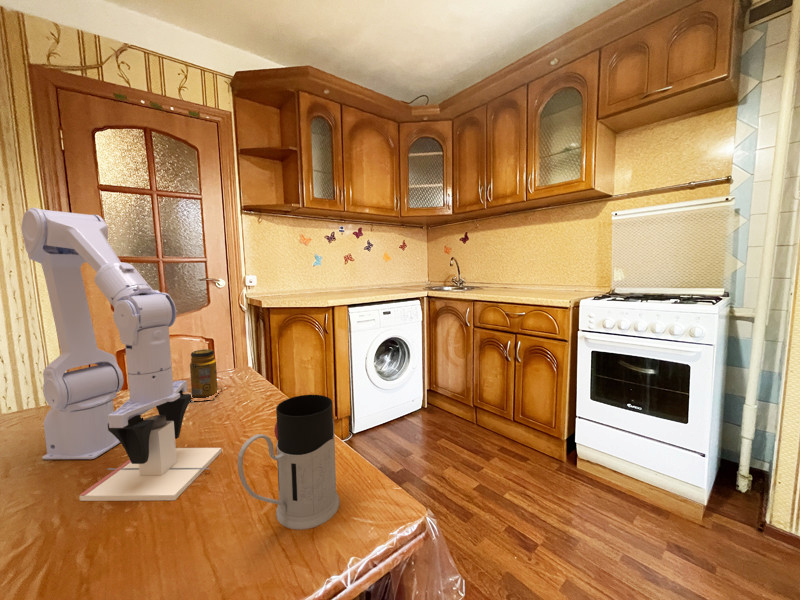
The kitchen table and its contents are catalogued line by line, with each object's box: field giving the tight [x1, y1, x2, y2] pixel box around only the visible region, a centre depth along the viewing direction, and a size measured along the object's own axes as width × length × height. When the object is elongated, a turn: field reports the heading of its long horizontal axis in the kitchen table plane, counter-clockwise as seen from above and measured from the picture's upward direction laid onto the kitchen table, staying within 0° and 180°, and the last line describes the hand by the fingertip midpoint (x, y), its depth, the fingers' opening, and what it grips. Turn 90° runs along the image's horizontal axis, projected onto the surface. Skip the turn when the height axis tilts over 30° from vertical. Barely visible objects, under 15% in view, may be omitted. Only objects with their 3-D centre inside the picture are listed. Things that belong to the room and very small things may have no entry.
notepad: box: [78, 447, 223, 502], centre depth 56 cm, size 17×13×1 cm
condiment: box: [189, 348, 219, 403], centre depth 89 cm, size 7×8×12 cm
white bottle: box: [139, 414, 177, 475], centre depth 55 cm, size 4×4×9 cm
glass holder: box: [237, 394, 341, 531], centre depth 45 cm, size 9×14×15 cm, turn 146°
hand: (156, 449), depth 56 cm, fingers open, 7 cm apart
